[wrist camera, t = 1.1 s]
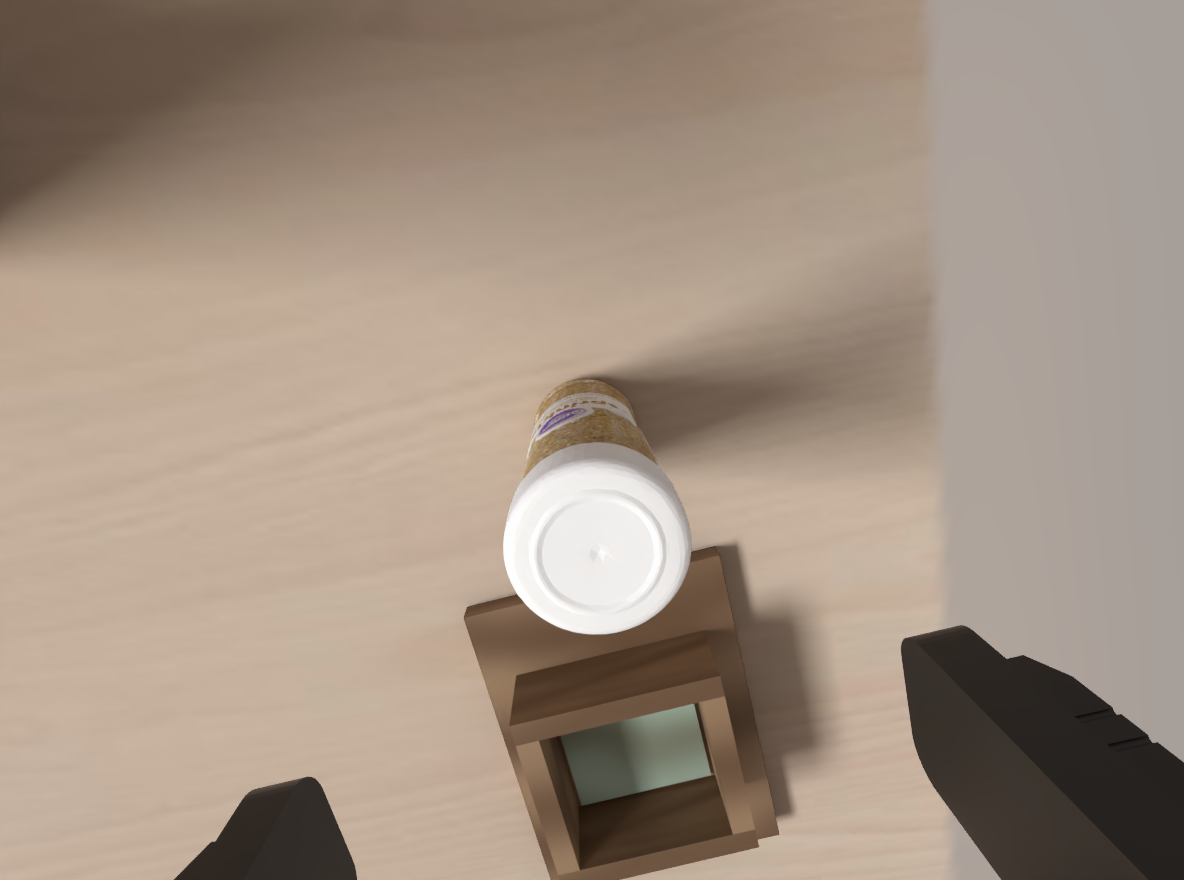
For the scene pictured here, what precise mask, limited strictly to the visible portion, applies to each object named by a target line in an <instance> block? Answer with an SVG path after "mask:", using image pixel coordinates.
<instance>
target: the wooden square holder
mask: <svg viewBox="0 0 1184 880" xmlns="http://www.w3.org/2000/svg"><path fill="white" fill-rule="evenodd" d="M464 621H465V624H466V627H467V630H468V633H469V636H470V639H471V642H472V645H473V648H474V651H475V654H476V657H477V660H478V663H479V666H480V669H481V672H482V675H483V678H484V681H485V684H486V687H487V690H488V693H489V696H490V699H491V702H492V705H493V708H494V711H495V714H496V717H497V720H498V723H499V726H500V729H501V732H502V735H503V738H504V741H505V744H506V747H507V750H508V753H509V756H510V759H511V762H512V765H513V768H514V771H515V774H516V777H517V780H518V783H519V786H520V789H521V792H522V795H523V798H524V801H525V804H526V807H527V810H528V813H529V816H530V819H531V822H532V825H533V828H534V831H535V834H536V837H537V840H538V843H539V846H540V849H541V852H542V855H543V858H544V861H545V864H546V867H547V870H548V873H549V876H550V879H551V880H620V879H624V878H629V877H633V876H637V875H642V874H646V873H650V872H654V871H659V870H663V869H667V868H672V867H676V866H680V865H684V864H689V863H693V862H697V861H702V860H706V859H710V858H715V857H719V856H723V855H727V854H732V853H736V852H740V851H745V850H749V849H753V848H757V847H759V845H758V839H762V838H766V837H771V836H775V835H779V830H778V826H777V821H776V816H775V812H774V807H773V802H772V798H771V793H770V788H769V784H768V779H767V774H766V770H765V765H764V761H763V756H762V751H761V747H760V742H759V737H758V733H757V728H756V723H755V719H754V714H753V709H752V705H751V700H750V695H749V691H748V686H747V681H746V677H745V672H744V667H743V663H742V658H741V653H740V649H739V644H738V639H737V635H736V630H735V625H734V621H733V616H732V612H731V607H730V602H729V598H728V593H727V588H726V584H725V579H724V574H723V570H722V565H721V560H720V556H719V554H718V552H717V550H716V548H715V547H711V548H707V549H703V550H699V551H695V552H691V557H690V564H689V567H688V571H687V573H686V576H685V578H684V581H683V583H682V585H681V586H680V588H679V590H678V592H677V593H676V594H675V596H674V597H673V598H672V600H671V601H670V602H669V603H668V604H667V605H666V606H665V607H664V608H663V609H662V610H661V611H660V612H659V613H657V614H656V615H655V616H653V617H652V618H650V619H649V620H647V621H646V622H644V623H642V624H640V625H638V626H636V627H633V628H631V629H628V630H624V631H621V632H617V633H611V634H582V633H576V632H571V631H568V630H565V629H562V628H559V627H557V626H555V625H553V624H551V623H549V622H547V621H545V620H544V619H542V618H541V617H539V616H538V615H537V614H536V613H534V612H533V611H532V610H531V609H530V608H529V607H528V606H527V605H526V604H525V603H524V602H523V600H522V599H521V598H520V597H519V596H518V595H515V596H511V597H507V598H503V599H499V600H495V601H491V602H486V603H482V604H478V605H474V606H470V607H467V609H466V612H465V616H464Z"/></svg>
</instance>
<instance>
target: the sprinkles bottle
mask: <svg viewBox="0 0 1184 880" xmlns="http://www.w3.org/2000/svg"><path fill="white" fill-rule="evenodd" d="M691 550H692V543H691V532H690V526H689V522H688V519H687V516H686V513H685V510H684V508H683V505H682V503H681V501H680V499H679V497H678V494H677V492H676V490H675V488H674V486H673V485H672V483H671V481H670V480H669V478H668V477H667V476H666V474H665V473H664V472H663V471H662V470H661V469H660V468H659V466H658V463H657V460H656V458H655V456H654V454H653V452H652V450H651V448H650V446H649V444H648V442H647V441H646V439H645V437H644V435H643V433H642V431H641V429H640V428H639V427H638V425H637V423H636V418H635V415H634V412H633V409H632V407H631V405H630V403H629V401H628V400H627V399H626V397H625V396H624V395H623V394H622V393H621V392H620V391H619V390H617V389H616V388H614V387H612V386H610V385H609V384H607V383H605V382H603V381H599V380H594V379H580V380H573V381H570V382H566V383H564V384H562V385H560V386H558V387H556V388H555V389H554V390H553V391H552V392H551V393H550V394H548V396H547V397H546V398H545V399H544V400H543V402H542V404H541V405H540V407H539V410H538V412H537V414H536V417H535V422H534V431H533V434H532V437H531V441H530V446H529V449H528V454H527V459H526V467H525V475H524V479H523V480H522V482H521V483H520V485H519V487H518V489H517V490H516V493H515V495H514V497H513V500H512V503H511V506H510V510H509V513H508V517H507V522H506V527H505V532H504V539H503V552H504V561H505V566H506V570H507V573H508V576H509V579H510V581H511V583H512V585H513V587H514V589H515V591H516V593H517V594H518V596H519V597H520V598H521V599H522V600H523V602H524V603H525V604H526V605H527V606H528V607H529V608H530V609H531V610H532V611H533V612H534V613H536V614H537V615H538V616H539V617H541V618H542V619H544V620H545V621H547V622H549V623H551V624H553V625H555V626H557V627H559V628H562V629H565V630H568V631H571V632H576V633H582V634H611V633H617V632H621V631H624V630H628V629H631V628H633V627H636V626H638V625H640V624H642V623H644V622H646V621H647V620H649V619H650V618H652V617H653V616H655V615H656V614H657V613H659V612H660V611H661V610H662V609H663V608H664V607H665V606H666V605H667V604H668V603H669V602H670V601H671V600H672V598H673V597H674V596H675V594H676V593H677V592H678V590H679V588H680V586H681V585H682V583H683V581H684V578H685V576H686V573H687V571H688V567H689V564H690V557H691Z"/></svg>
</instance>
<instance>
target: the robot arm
mask: <svg viewBox="0 0 1184 880" xmlns="http://www.w3.org/2000/svg"><path fill="white" fill-rule="evenodd" d="M901 655H902V663H903V670H904V677H905V684H906V692H907V699H908V706H909V713H910V721H911V728H912V735H913V740H914V744H915V747H916V750H917V753H918V756H919V759H920V761H921V763H922V766H923V768H924V770H925V772H926V774H927V776H928V778H929V780H930V781H931V783H932V785H933V786H934V788H935V789H936V791H937V792H938V794H939V795H940V796H941V798H942V799H943V800H944V802H945V803H946V804H947V806H948V807H949V809H950V810H951V811H952V813H953V814H954V815H955V817H956V818H957V820H958V821H959V822H960V824H961V825H962V826H963V828H964V829H965V831H966V832H967V833H968V835H969V836H970V837H971V839H972V840H973V841H974V843H975V844H976V845H977V847H978V848H979V850H980V851H981V852H982V854H983V855H984V856H985V858H986V859H987V861H988V862H989V863H990V865H991V866H992V868H993V869H994V870H995V872H996V873H997V874H998V876H999V877H1000V878H1001V880H1184V763H1183V762H1182V761H1181V760H1180V759H1178V758H1177V757H1176V756H1175V755H1173V754H1172V753H1170V752H1169V751H1168V750H1167V749H1165V748H1164V747H1163V746H1161V745H1160V744H1159V743H1158V742H1157V743H1152V742H1151V740H1150V739H1149V737H1148V735H1147V734H1146V733H1145V732H1143V731H1142V730H1141V729H1140V728H1138V727H1137V726H1136V725H1134V724H1133V723H1132V722H1130V721H1129V720H1128V719H1127V718H1125V717H1124V716H1123V715H1121V714H1120V715H1116V714H1115V712H1114V710H1113V708H1112V707H1111V706H1110V705H1108V704H1107V703H1106V702H1105V701H1103V700H1102V699H1101V698H1099V697H1098V696H1097V695H1096V694H1094V693H1093V692H1092V691H1090V690H1089V689H1088V688H1086V687H1085V686H1084V685H1083V684H1081V683H1080V682H1079V681H1077V680H1076V679H1075V678H1074V677H1072V676H1070V675H1068V674H1065V673H1063V672H1061V671H1058V670H1056V669H1053V668H1051V667H1049V666H1047V665H1044V664H1042V663H1040V662H1038V661H1035V660H1033V659H1031V658H1029V657H1026V656H1024V655H1022V656H1018V657H1013V658H1009V659H1006V658H1005V657H1003V656H1002V655H1001V654H1000V653H999V652H998V651H996V650H995V649H994V648H993V647H992V646H990V645H989V644H988V643H987V642H986V641H984V640H983V639H982V638H981V637H980V636H979V635H977V634H976V633H975V632H974V631H973V630H971V629H970V628H968V627H966V626H962V625H960V626H956V627H951V628H947V629H943V630H938V631H934V632H930V633H926V634H921V635H917V636H913V637H909V638H905V639H904V640H903V642H902V645H901ZM174 880H357V875H356V870H355V865H354V862H353V860H352V857H351V855H350V853H349V850H348V848H347V845H346V843H345V841H344V838H343V836H342V834H341V831H340V829H339V826H338V824H337V822H336V819H335V817H334V815H333V812H332V810H331V807H330V805H329V803H328V800H327V798H326V796H325V793H324V791H323V789H322V787H321V785H320V783H319V782H318V781H317V780H316V779H315V778H312V777H305V778H301V779H296V780H292V781H288V782H284V783H279V784H275V785H271V786H267V787H262V788H258V789H254V790H252V791H251V792H249V793H248V794H247V795H246V796H245V797H244V798H243V800H242V801H241V803H240V804H239V806H238V807H237V809H236V810H235V812H234V813H233V815H232V817H231V818H230V820H229V821H228V823H227V824H226V826H225V828H224V829H223V831H222V832H221V834H220V835H219V837H218V838H217V840H216V841H215V842H211V843H210V844H209V845H208V846H207V847H206V848H205V849H204V850H203V851H202V852H201V853H200V854H199V855H198V856H197V857H196V858H195V859H194V860H193V861H192V862H191V863H190V864H189V865H188V866H187V867H186V868H185V869H184V870H183V871H182V872H181V873H180V874H179V875H178V876H177V877H176V878H175V879H174Z"/></svg>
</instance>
